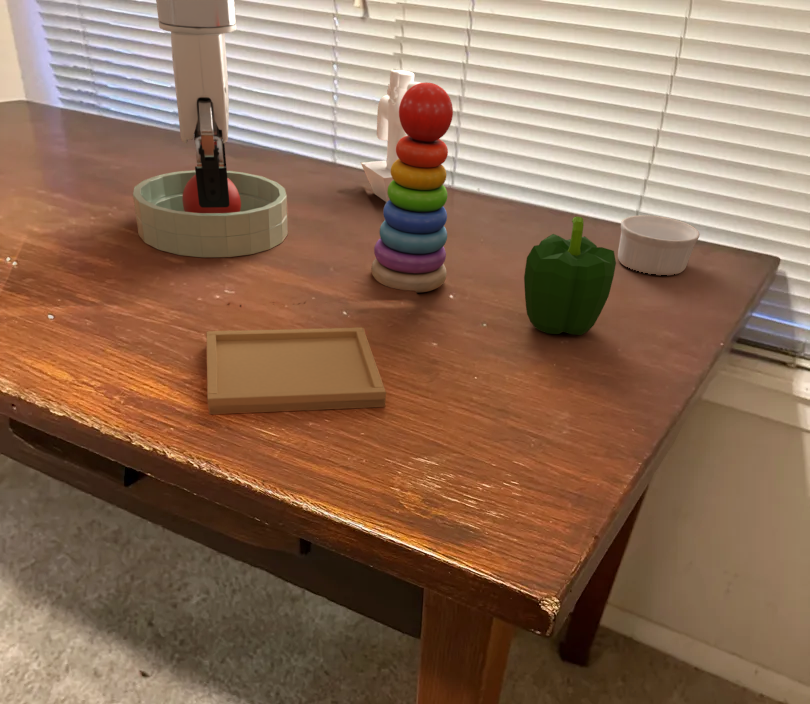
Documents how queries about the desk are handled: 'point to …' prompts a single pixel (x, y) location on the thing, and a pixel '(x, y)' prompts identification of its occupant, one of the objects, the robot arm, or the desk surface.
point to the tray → (291, 370)
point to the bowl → (211, 217)
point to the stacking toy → (416, 196)
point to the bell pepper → (567, 282)
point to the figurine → (388, 131)
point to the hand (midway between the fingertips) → (213, 192)
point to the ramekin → (656, 244)
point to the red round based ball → (193, 206)
